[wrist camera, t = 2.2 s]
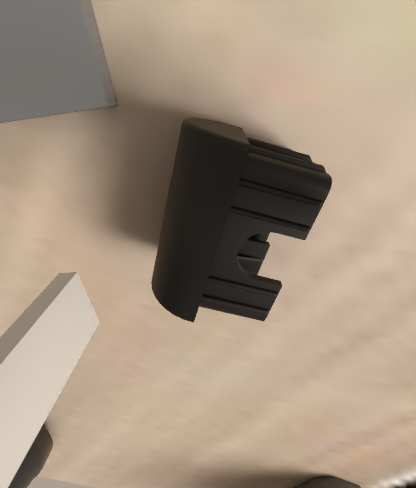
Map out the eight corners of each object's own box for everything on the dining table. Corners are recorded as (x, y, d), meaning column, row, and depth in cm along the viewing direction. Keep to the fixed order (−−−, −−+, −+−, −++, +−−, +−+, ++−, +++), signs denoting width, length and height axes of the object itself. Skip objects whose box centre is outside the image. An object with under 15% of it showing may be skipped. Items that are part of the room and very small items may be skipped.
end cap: (191, 111, 16) (173, 123, 10) (303, 144, 17) (347, 172, 11) (163, 250, 21) (139, 312, 15) (250, 272, 22) (260, 340, 16)
